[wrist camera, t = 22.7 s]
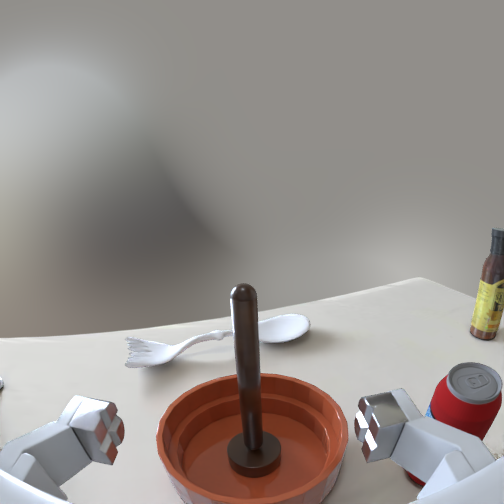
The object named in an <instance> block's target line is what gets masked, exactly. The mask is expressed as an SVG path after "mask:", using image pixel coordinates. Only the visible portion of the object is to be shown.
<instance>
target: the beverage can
mask: <svg viewBox="0 0 504 504" xmlns="http://www.w3.org/2000/svg"><path fill="white" fill-rule="evenodd" d="M501 389H502V380H501V378H500V376H499V374H498V373H497V372H496V371H495V370H493V369H492V368H490V367H488V366H486V365H483V364H480V363H473V362H468V363H462V364H458V365H456V366H455V367H453V368H452V369H451V370H450V372H449V374H448V375H447V376H445V377H444V378H443V379H442V380H441V381H440V382H439V384H438V385H437V387H436V389H435V392H434V395H433V397H432V400H431V402H430V405H429V407H428V410H427V412H426V415H425V416H428V417H430V418H433V419H435V420H437V421H440V422H442V423H444V424H447V425H449V426H451V427H454V428H456V429H459V430H461V431H464V432H466V433H469V434H471V435H474V436H476V437H479V438H480V439H481V440H483V438H484V437H485V435H486V433H487V432H488V430H489V428H490V426H491V425H492V423H493V421H494V419H495V417H496V415H497V413H498V411H499V409H500V407H501V403H502V393H501ZM407 473H408V475H409V476H410V478H411V479H412V480H413V481H415V482H416V483H418V484H420V485H422V486H425V485H426V483H425V482H423V481H422V480H420V479H419V478H417V477H416V476H414V475H413V474H412V473H410V472H409V471H407Z"/></svg>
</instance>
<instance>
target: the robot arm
mask: <svg viewBox="0 0 504 504" xmlns="http://www.w3.org/2000/svg"><path fill="white" fill-rule="evenodd" d="M2 386H3V381H2V379H1V377H0V388H1V387H2ZM358 407H359V409H360V411H359V412H358V413H357V414H356V417H355V422H354V424H355V433H356V436H357V439H358V440H359V441H361V442H362V443H363V446H362V452H363V454H364V457H365V459H366V462H367V463H369V462H373V461H378V460H382V459H386V458H390V457H391V458H390V459H391V460H393V461H394V462H396V463H397V464H399V465H400V466H401V467H403V468H404V469H406V470H407V471H409V472H410V473H412V474H413V475H414V476H416V477H417V478H419V479H420V480H422V481H423V482H425V483H426V485H425V486H424V487H423V489H422V490H421V491H420V493H419V494H418V496H417V498H418V500H417V501H414V502H411V503H409V504H504V456H502V457H501V458H499V459H498V460H496V459H495V458H494V457H493V455H492V454H491V453H490V451H489V450H488V448H487V447H486V446H485V444H484V443H483V442H482V440H481V439H480V438H479V437H476V436H474V435H471V434H469V433H466V432H464V431H461V430H459V429H456V428H454V427H451V426H449V425H447V424H444V423H442V422H440V421H437V420H435V419H433V418H430V417H428V416H425V417H423V416H422V414H421V413H420V412H419V410H418V409H417V407H416V406H415V404H414V403H413V401H412V400H411V399H410V397H409V396H408V394H407V393H406V391H405V390H404V389H402V388H401V389H397V390H393V391H389V392H384V393H380V394H375V395H370V396H365V397H361V399H360V400H359V404H358ZM117 411H118V410H117V408H116V405H115V403H112V402H109V401H103V400H98V399H93V398H87V397H82V396H78V395H77V396H75V397H73V399H72V400H71V401H70V403H69V404H68V406H67V407H66V409H65V410H64V411H63V413H62V414H61V416H60V417H59V419H58V420H57V422H51V423H49V424H47V425H45V426H43V427H40V428H38V429H36V430H34V431H32V432H30V433H27V434H25V435H23V436H21V437H19V438H16V439H14V440H12V441H10V442H7V443H6V444H5V446H4V447H3V449H2V450H1V451H0V504H73V503H70V502H68V501H67V499H68V498H67V496H66V494H65V493H64V492H63V491H62V490H61V489H60V488H59V486H61V485H62V484H63V483H65V482H66V481H67V480H69V479H70V478H71V477H73V476H74V475H75V474H77V473H78V472H79V471H81V470H82V469H83V468H85V467H86V466H87V465H89V464H90V463H91V462H92V461H95V462H99V463H104V464H108V465H113V463H114V460H115V458H116V456H117V453H118V451H117V449H116V447H117V446H118V445H120V444H121V443H122V441H123V438H124V431H125V430H124V424H123V422H122V419H121V418H119V417H118V416H117V415H116V413H117Z"/></svg>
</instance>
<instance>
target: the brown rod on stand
mask: <svg viewBox="0 0 504 504" xmlns="http://www.w3.org/2000/svg"><path fill="white" fill-rule="evenodd" d="M230 298H231V312H232V324H233V336H234V348H235V359H236V370H237V381H238V391H239V401H240V411H241V421H242V430H243V432H242V433H239V434H237V435H236V436H234V437H233V438H232V439H231V440H230V442H229V443H228V446H227V454H228V460H229V464H230V466H231V468H232V469H233V470H234V471H235V472H236V473H238V474H240V475H242V476H245V477H250V478H258V477H263V476H266V475H269V474H270V473H272V472H273V471H275V470H276V469H277V468H278V466H279V464H280V461H281V444H280V442H279V440H278V439H277V438H276V437H275V436H274V435H272V434H271V433H268V432H265V431H263V426H262V402H261V378H260V354H259V331H258V308H257V293H256V291H255V289H254V288H253V287H252V286H251V285H249V284H244V283H243V284H238V285H237V286H235V287H234V288H233V289H232V292H231V295H230Z"/></svg>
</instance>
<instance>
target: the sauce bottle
mask: <svg viewBox="0 0 504 504" xmlns="http://www.w3.org/2000/svg"><path fill="white" fill-rule="evenodd" d="M490 251H491V253H490V255H489V256H488V258H487V259H486V261H485V263H484V265H483V270H482V276H481V279H480V284H479V290H478V295H477V299H476V304H475V309H474V313H473V317H472V321H471V328H470V331H471V334H473V335H474V336H475V337H477V338H479V339H492V338H494V337H495V335H496V332H497V330H498V328H499V324H500V320H501V317H502V313H503V308H504V229H501V228H492V245H491V250H490Z"/></svg>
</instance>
